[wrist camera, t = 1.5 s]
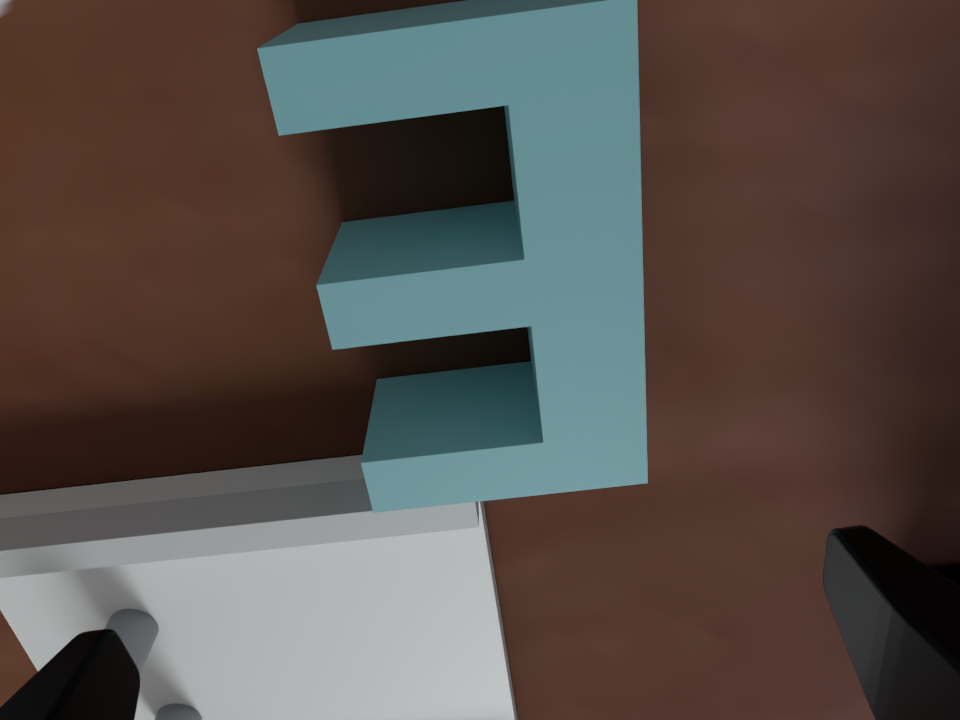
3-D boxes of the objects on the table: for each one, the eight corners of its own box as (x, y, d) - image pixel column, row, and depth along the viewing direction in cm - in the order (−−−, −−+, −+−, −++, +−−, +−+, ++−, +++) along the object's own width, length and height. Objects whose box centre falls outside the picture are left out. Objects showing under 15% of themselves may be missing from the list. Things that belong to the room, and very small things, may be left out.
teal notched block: (602, -19, 17) (637, -4, 14) (619, 397, 23) (647, 483, 19) (297, 23, 18) (257, 48, 14) (386, 424, 23) (373, 512, 20)
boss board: (473, 442, 24) (476, 596, 18) (521, 742, 31) (532, 915, 25) (-30, 498, 24) (-171, 662, 19) (132, 778, 32) (63, 954, 26)
